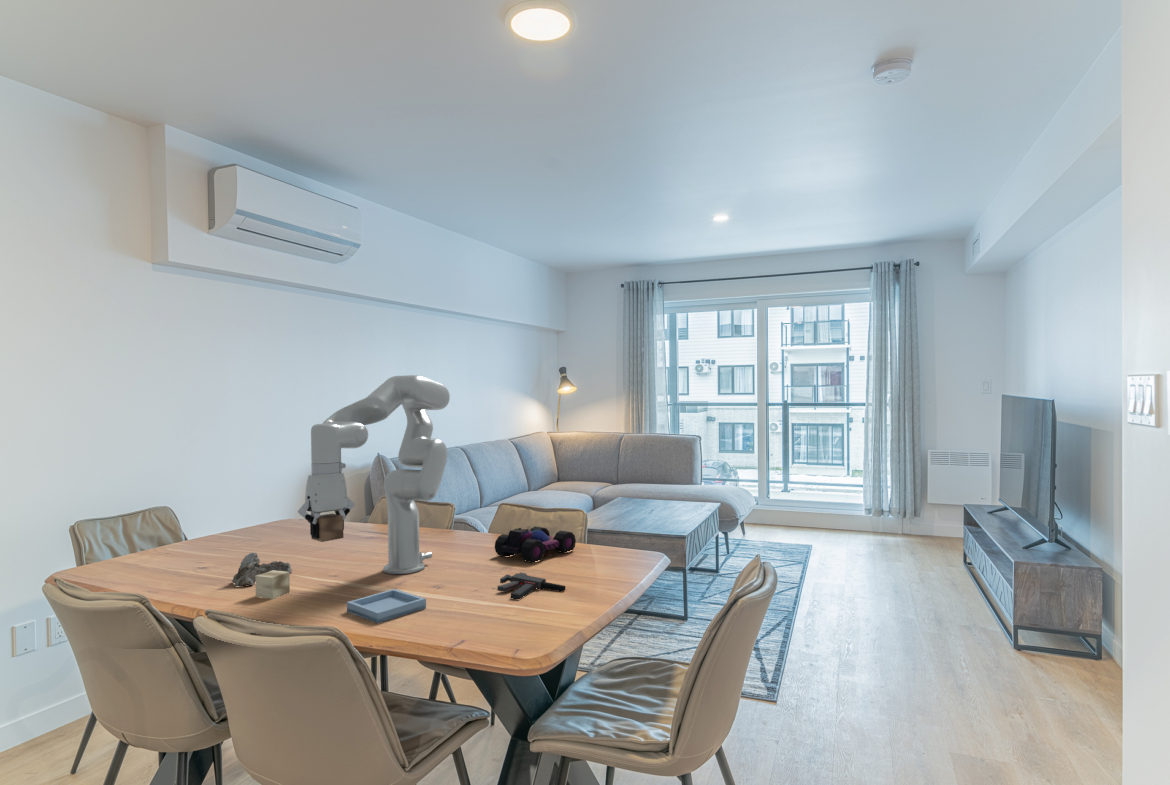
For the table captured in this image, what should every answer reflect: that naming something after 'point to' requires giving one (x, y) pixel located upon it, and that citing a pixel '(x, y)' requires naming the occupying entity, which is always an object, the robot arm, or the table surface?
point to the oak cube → (272, 584)
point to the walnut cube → (330, 527)
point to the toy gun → (525, 584)
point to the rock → (256, 569)
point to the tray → (386, 605)
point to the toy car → (533, 543)
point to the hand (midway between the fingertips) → (327, 535)
